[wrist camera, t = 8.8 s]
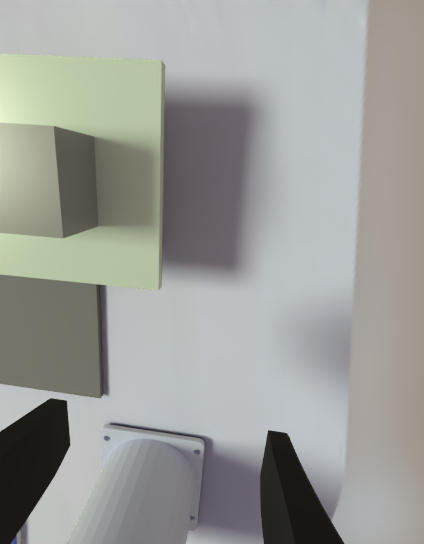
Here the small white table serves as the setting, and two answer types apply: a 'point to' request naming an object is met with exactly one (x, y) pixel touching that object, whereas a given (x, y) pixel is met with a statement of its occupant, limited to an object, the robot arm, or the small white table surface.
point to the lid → (82, 169)
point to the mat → (50, 335)
